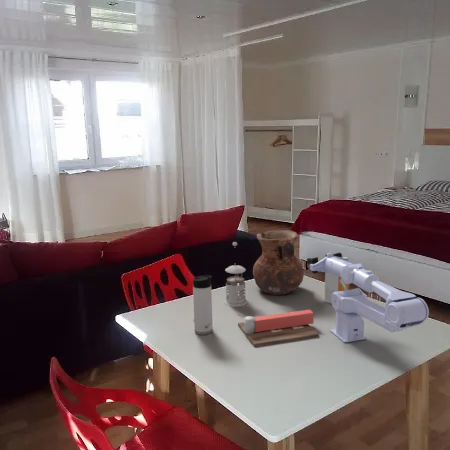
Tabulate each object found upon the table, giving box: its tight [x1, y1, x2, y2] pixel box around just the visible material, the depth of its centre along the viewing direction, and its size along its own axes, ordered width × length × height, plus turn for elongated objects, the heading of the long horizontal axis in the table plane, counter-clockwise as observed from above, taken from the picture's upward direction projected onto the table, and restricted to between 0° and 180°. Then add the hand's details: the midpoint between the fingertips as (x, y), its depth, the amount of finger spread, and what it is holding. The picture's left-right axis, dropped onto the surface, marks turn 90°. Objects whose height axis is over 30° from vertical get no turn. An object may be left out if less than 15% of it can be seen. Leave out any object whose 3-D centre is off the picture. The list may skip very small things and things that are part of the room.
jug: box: [252, 229, 305, 296], centre depth 196 cm, size 22×21×25 cm
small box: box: [324, 272, 350, 305], centre depth 183 cm, size 8×6×13 cm
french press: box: [223, 241, 249, 308], centre depth 184 cm, size 10×12×25 cm
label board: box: [237, 321, 320, 348], centre depth 158 cm, size 17×23×1 cm
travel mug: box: [192, 274, 214, 336], centre depth 157 cm, size 6×7×20 cm
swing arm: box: [243, 309, 315, 333], centre depth 158 cm, size 4×25×4 cm, turn 106°
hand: (317, 259), depth 168 cm, fingers open, 7 cm apart
